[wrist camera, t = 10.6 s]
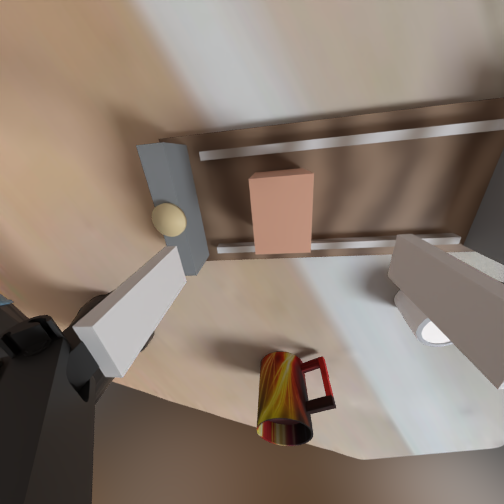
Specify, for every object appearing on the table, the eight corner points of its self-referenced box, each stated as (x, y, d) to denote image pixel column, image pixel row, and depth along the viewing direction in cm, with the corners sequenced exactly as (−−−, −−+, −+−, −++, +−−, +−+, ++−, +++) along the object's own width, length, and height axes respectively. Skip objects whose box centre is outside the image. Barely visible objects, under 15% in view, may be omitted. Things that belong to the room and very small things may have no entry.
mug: (324, 352, 41) (342, 422, 31) (288, 383, 47) (292, 451, 37) (285, 334, 40) (290, 399, 29) (253, 368, 46) (247, 433, 35)
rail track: (192, 258, 34) (187, 265, 32) (162, 139, 26) (152, 138, 24) (481, 247, 28) (499, 255, 26) (553, 92, 21) (587, 85, 18)
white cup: (389, 285, 33) (416, 316, 26) (436, 276, 31) (477, 307, 25) (390, 315, 35) (415, 350, 29) (434, 309, 34) (471, 343, 28)
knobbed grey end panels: (189, 256, 33) (170, 278, 27) (161, 147, 26) (127, 145, 20) (491, 244, 27) (552, 269, 21) (560, 102, 20) (679, 80, 14)
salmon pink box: (259, 230, 29) (255, 254, 22) (255, 172, 26) (248, 179, 18) (301, 227, 28) (310, 252, 21) (302, 168, 25) (314, 173, 18)
